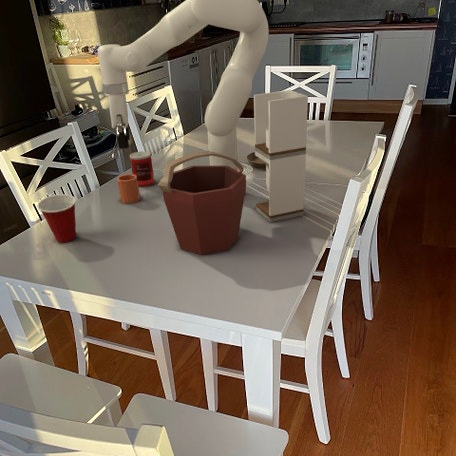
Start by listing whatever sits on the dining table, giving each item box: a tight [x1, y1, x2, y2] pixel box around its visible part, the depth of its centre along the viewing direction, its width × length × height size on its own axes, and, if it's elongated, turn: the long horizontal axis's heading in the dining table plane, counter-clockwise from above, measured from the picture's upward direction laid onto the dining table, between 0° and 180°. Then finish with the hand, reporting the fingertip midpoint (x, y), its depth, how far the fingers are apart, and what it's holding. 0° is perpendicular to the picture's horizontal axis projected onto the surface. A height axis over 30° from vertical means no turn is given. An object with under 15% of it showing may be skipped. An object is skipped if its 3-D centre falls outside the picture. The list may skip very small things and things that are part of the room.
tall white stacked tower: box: [253, 89, 309, 223], centre depth 142 cm, size 11×11×35 cm
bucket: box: [157, 150, 247, 256], centre depth 131 cm, size 24×22×25 cm
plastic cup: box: [36, 193, 77, 244], centre depth 140 cm, size 11×11×12 cm
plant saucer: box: [246, 151, 266, 169], centre depth 191 cm, size 18×18×3 cm
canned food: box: [129, 150, 155, 188], centre depth 177 cm, size 8×8×11 cm
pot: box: [116, 173, 141, 204], centre depth 165 cm, size 7×7×8 cm
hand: (124, 143), depth 158 cm, fingers open, 9 cm apart
